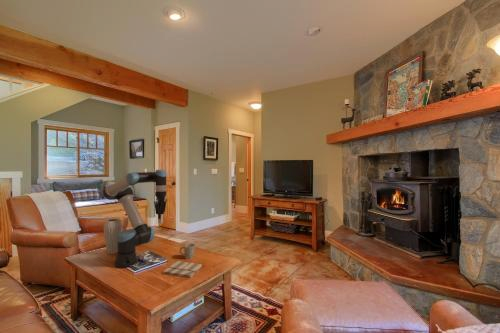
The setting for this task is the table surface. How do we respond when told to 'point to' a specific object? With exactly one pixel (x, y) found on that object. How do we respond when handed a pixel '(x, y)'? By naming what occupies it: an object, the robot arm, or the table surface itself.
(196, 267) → the plank
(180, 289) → the table surface
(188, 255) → the mug
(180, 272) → the laid row
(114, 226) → the vase
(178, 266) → the plank
